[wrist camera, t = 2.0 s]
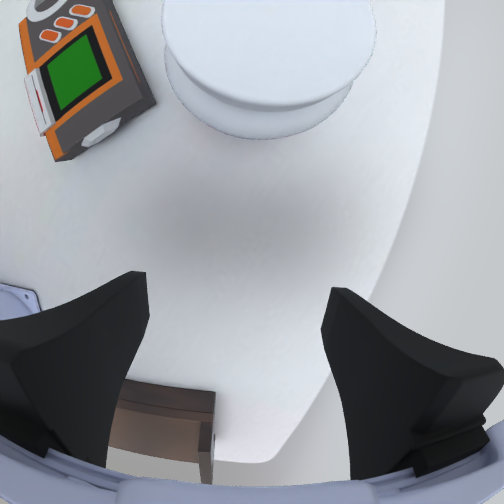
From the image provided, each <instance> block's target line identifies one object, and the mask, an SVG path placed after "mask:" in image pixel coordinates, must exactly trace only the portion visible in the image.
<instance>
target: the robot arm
mask: <svg viewBox="0 0 504 504" xmlns="http://www.w3.org/2000/svg"><path fill="white" fill-rule="evenodd" d="M149 317H150V314H149V305H148V294H147V282H146V272H138V271H130V272H127V273H125V274H123V275H121V276H119V277H117V278H115V279H113V280H111V281H110V282H108V283H106V284H104V285H102V286H100V287H99V288H97V289H95V290H93V291H91V292H89V293H87V294H85V295H83V296H81V297H79V298H77V299H74V300H72V301H70V302H67V303H65V304H62V305H60V306H57V307H55V308H52V309H49V310H45V311H42V312H41V311H40V308H39V304H38V301H37V297H36V294H35V293H34V292H33V291H30V290H26V289H21V288H17V287H13V286H8V285H4V284H0V497H1V498H2V499H4V500H5V501H6V502H8V503H9V504H482V503H484V502H485V501H487V500H488V499H490V498H491V497H492V496H494V495H495V494H497V493H498V492H500V491H501V490H502V489H504V420H502V421H501V422H499V423H497V424H495V425H493V426H492V427H490V428H489V429H487V430H486V431H485V430H484V428H483V427H482V425H484V424H485V422H486V419H485V417H484V415H483V413H484V411H485V410H486V409H487V408H488V406H489V405H490V404H491V403H492V401H493V400H494V399H495V397H496V396H497V395H498V393H499V392H500V390H501V389H502V387H503V385H504V368H503V367H502V366H501V364H500V363H499V362H498V361H497V360H496V359H494V358H490V357H485V356H480V355H475V354H471V353H467V352H464V351H460V350H457V349H453V348H451V347H448V346H445V345H443V344H440V343H438V342H435V341H433V340H430V339H428V338H426V337H424V336H422V335H420V334H418V333H416V332H414V331H412V330H410V329H408V328H407V327H405V326H403V325H402V324H400V323H398V322H397V321H395V320H394V319H392V318H390V317H389V316H387V315H386V314H384V313H383V312H382V311H380V310H379V309H377V308H376V307H374V306H373V305H372V304H370V303H369V302H367V301H366V300H365V299H363V298H362V297H360V296H359V295H357V294H356V293H354V292H353V291H351V290H349V289H347V288H340V287H332V288H331V292H330V296H329V300H328V304H327V308H326V312H325V315H324V319H323V323H322V326H321V334H322V340H323V345H324V350H325V353H326V356H327V359H328V362H329V365H330V368H331V371H332V373H333V376H334V379H335V382H336V385H337V388H338V391H339V394H340V398H341V401H342V406H343V412H344V417H345V423H346V430H347V437H348V446H349V457H350V477H351V480H348V481H332V482H325V483H315V484H305V485H293V486H270V487H269V486H268V487H247V486H223V485H210V484H200V483H191V482H184V481H177V480H168V479H157V478H149V477H135V476H131V475H127V474H123V473H120V472H116V471H112V470H109V469H106V459H107V450H108V444H109V438H110V432H111V427H112V422H113V418H114V413H115V409H116V405H117V401H118V398H119V394H120V391H121V387H122V385H123V382H124V379H125V377H126V375H127V372H128V370H129V368H130V366H131V363H132V361H133V359H134V357H135V355H136V352H137V350H138V348H139V346H140V344H141V341H142V339H143V337H144V334H145V331H146V327H147V324H148V320H149Z"/></svg>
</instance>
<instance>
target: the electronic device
mask: <svg viewBox="0 0 504 504" xmlns="http://www.w3.org/2000/svg"><path fill="white" fill-rule="evenodd" d="M19 32H20V39H21V44H22V50H23V55H24V60H25V65H26V69H27V74H28V75H27V76H26V77H25V78H24V81H25V85H26V89H27V93H28V97H29V101H30V104H31V108H32V111H33V115H34V118H35V121H36V124H37V127H38V130H39V133H40V136H46V138H47V141H48V144H49V147H50V150H51V152H52V155H53V157H54V160H55V162H59V161H66V160H72V159H74V158H75V157H76V156H77V155H79V154H80V153H81V152H83V151H84V150H85V149H87V148H88V147H90V146H92V145H94V144H96V143H98V142H100V141H101V140H102V139H104V138H105V137H107V136H108V135H110V134H111V133H113V132H114V131H116V129H117V127H119V126H120V125H122V124H123V123H125V122H126V121H128V120H130V119H131V118H133V117H134V116H136V115H138V114H139V113H141V112H143V111H144V110H146V109H148V108H150V107H151V106H153V105H155V104H156V102H155V100H154V97H153V95H152V93H151V91H150V89H149V86H148V84H147V82H146V80H145V77H144V75H143V73H142V71H141V68H140V66H139V64H138V61H137V59H136V57H135V55H134V52H133V50H132V48H131V45H130V43H129V41H128V38H127V36H126V34H125V31H124V29H123V27H122V24H121V22H120V20H119V17H118V15H117V12H116V10H115V8H114V5H113V3H112V0H30V2H29V4H28V7H27V17H26V18H25V19H24V20H22V21H21V22H20V23H19Z"/></svg>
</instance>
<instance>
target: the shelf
mask: <svg viewBox="0 0 504 504" xmlns="http://www.w3.org/2000/svg"><path fill="white" fill-rule="evenodd" d="M215 400H216V393H215V392H207V391H197V390H189V389H180V388H173V387H166V386H159V385H153V384H147V383H141V382H136V381H131V380H126V379H124V382H123V385H122V387H121V391H120V394H119V398H118V401H117V405H116V409H115V413H114V418H113V422H112V427H111V432H110V438H109V444H108V446H110V447H114V448H118V449H122V450H126V451H130V452H134V453H139V454H143V455H148V456H153V457H159V458H165V459H170V460H177V461H184V462H193V463H199V468H200V476H201V484H210V485H212V479H213V461H214V447H215V434H214V412H215Z"/></svg>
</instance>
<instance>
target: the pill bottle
mask: <svg viewBox="0 0 504 504" xmlns="http://www.w3.org/2000/svg"><path fill="white" fill-rule="evenodd" d="M161 23H162V30H163V35H164V38H165V42H166V46H165V66H166V71H167V75H168V78H169V81H170V83H171V86H172V88H173V90H174V92H175V94H176V95H177V97H178V98H179V100H180V101H181V102H182V103H183V105H184V106H185V107H186V108H187V109H188V110H189V111H190V112H191V113H192V114H193V115H194V116H196V117H197V118H198V119H199V120H201V121H202V122H204V123H205V124H207V125H209V126H210V127H212V128H214V129H216V130H218V131H221V132H223V133H225V134H229V135H232V136H235V137H239V138H244V139H258V140H259V139H276V138H283V137H288V136H291V135H295V134H298V133H301V132H304V131H306V130H308V129H310V128H312V127H314V126H316V125H317V124H319V123H321V122H322V121H324V120H325V119H327V118H328V117H329V116H330V115H331V114H332V113H333V112H334V111H335V110H336V109H337V108H338V107H339V106H340V105H341V103H342V102H343V101H344V99H345V98H346V96H347V94H348V93H349V91H350V89H351V86H352V84H353V81H354V80H355V79H356V78H357V77H358V76H359V75H360V74H361V72H362V71H363V70H364V68H365V67H366V65H367V64H368V62H369V60H370V58H371V56H372V53H373V50H374V46H375V42H376V34H377V30H376V21H375V16H374V12H373V8H372V6H371V3H370V1H369V0H164V2H163V7H162V19H161Z"/></svg>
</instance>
